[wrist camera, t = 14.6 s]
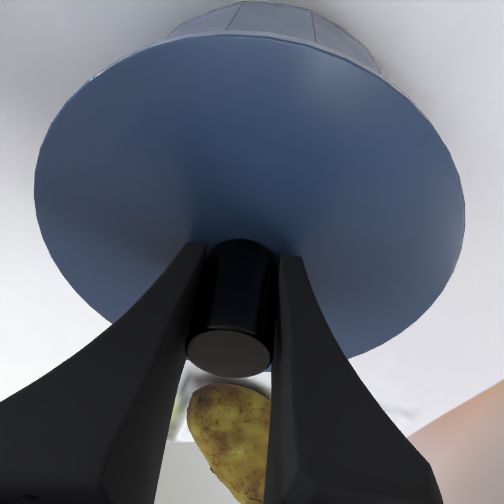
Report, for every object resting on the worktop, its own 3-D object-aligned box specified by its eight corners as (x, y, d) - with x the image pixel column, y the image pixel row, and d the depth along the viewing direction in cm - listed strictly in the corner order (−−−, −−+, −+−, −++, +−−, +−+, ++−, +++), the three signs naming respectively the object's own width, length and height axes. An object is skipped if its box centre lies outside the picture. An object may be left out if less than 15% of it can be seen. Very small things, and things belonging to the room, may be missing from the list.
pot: (80, 131, 18) (11, 200, 14) (289, -92, 12) (284, -99, 8) (245, 279, 24) (233, 359, 20) (439, 178, 18) (486, 261, 14)
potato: (271, 363, 31) (264, 469, 25) (312, 429, 38) (315, 522, 32) (183, 374, 33) (159, 473, 27) (238, 434, 41) (229, 521, 35)
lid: (-20, 209, 13) (-130, 309, 10) (288, -152, 7) (280, -226, 3) (231, 378, 20) (217, 474, 16) (513, 278, 13) (588, 403, 10)
